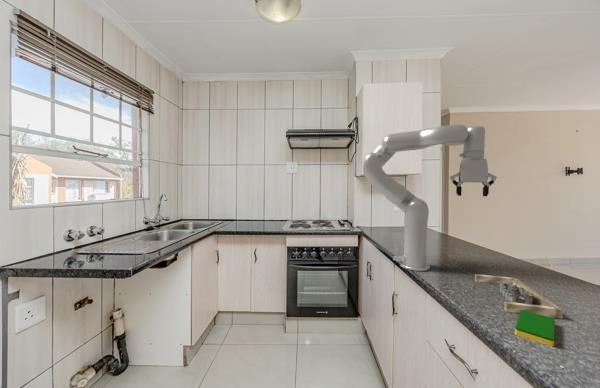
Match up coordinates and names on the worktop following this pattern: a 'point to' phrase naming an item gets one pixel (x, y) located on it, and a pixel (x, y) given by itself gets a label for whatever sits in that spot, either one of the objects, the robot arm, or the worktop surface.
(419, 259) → the robot arm
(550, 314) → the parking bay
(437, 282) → the worktop surface
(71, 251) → the worktop surface
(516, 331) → the dish sponge
